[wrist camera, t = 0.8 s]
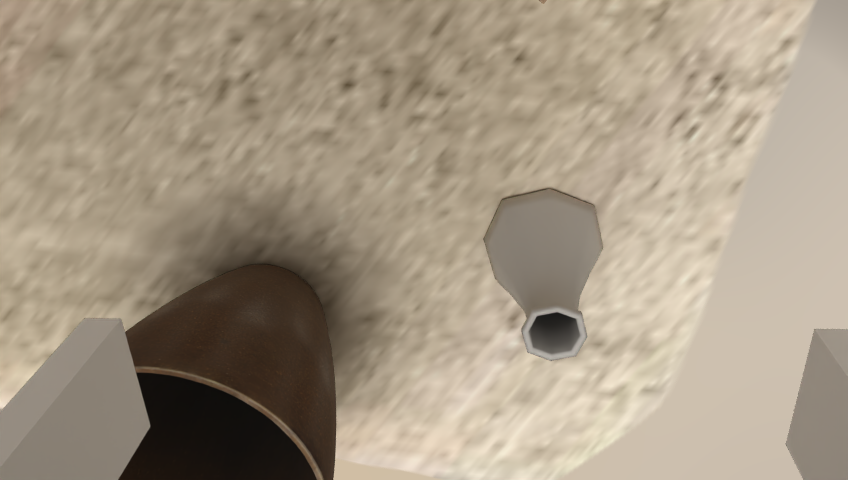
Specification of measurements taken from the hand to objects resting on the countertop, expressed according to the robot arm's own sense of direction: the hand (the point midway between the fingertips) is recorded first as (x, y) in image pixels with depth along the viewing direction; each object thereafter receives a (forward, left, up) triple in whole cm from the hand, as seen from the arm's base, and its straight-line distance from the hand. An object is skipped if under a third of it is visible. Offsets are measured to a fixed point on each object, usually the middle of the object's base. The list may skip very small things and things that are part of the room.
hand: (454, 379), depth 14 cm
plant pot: (+1, -22, -29) cm, 37 cm away
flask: (+11, -6, -29) cm, 31 cm away
